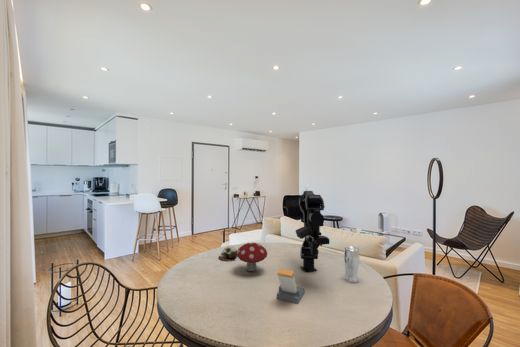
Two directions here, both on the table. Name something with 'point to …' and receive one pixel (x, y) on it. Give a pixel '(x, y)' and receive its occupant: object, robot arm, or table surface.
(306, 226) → the robot arm
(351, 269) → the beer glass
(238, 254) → the decorative mushroom
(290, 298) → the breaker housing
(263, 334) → the table surface
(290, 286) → the lever
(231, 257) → the skull
